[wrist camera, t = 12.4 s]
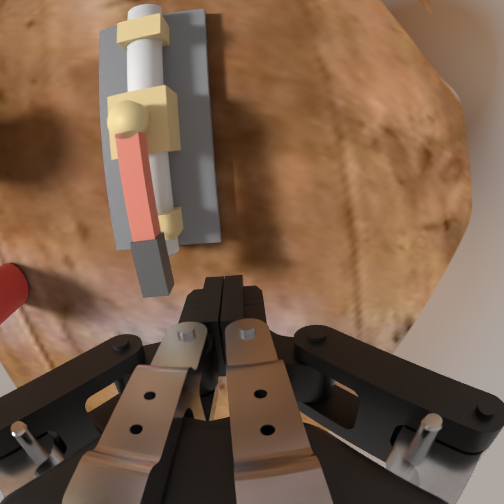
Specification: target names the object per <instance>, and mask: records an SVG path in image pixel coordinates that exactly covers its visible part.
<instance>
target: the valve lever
mask: <svg viewBox="0 0 504 504" xmlns="http://www.w3.org/2000/svg"><path fill="white" fill-rule="evenodd" d="M150 123H151V116H150V113H149V111H148V109H147V108H146V107H145V106H143V105H141V104H139V103H136V102H134V101H131V100H125V101H121V102H119V103H117V104H116V105H115V106H114V107H113V108H112V109H111V110H110V112H109V114H108V118H107V127H108V130H109V132H110V133H111V134H112V135H113V136H114V137H115V139H116V147H117V155H118V162H119V169H120V175H121V182H122V188H123V194H124V200H125V205H126V211H127V216H128V221H129V226H130V231H131V236H132V240H133V241H132V242H131V243H130V246H131V250H132V255H133V259H134V263H135V267H136V271H137V275H138V279H139V283H140V287H141V291H142V295H143V298H145V297H157V296H169V294H170V292H171V290H172V288H173V286H174V280H173V275H172V271H171V266H170V261H169V256H168V251H167V246H166V241H165V236H164V232H161V230H160V224H159V219H158V213H157V207H156V201H155V195H154V189H153V183H152V176H151V169H150V162H149V155H148V147H147V140H146V132H147V130H148V129H149V127H150Z"/></svg>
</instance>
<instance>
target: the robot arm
mask: <svg viewBox="0 0 504 504" xmlns="http://www.w3.org/2000/svg"><path fill="white" fill-rule="evenodd" d="M226 374H227V388H228V401H229V414H230V417H227V418H222V419H218V420H213V419H214V414H215V408H216V402H217V397H218V388H217V384H218V376H226ZM335 381H337V382H339V383H341V384H343V385H344V386H346V387H348V388H350V389H352V390H353V391H355V392H356V394H357V395H358V396H359V397H357V396H355V395H354V394H352V393H350V392H348V391H346V390H344V389H342V388H340V387H339V386H337V385H335V384H334V383H335ZM113 382H114V383H115V385H116V388H117V390H118V392H119V394H118V395H116V396H114V397H113V398H111V399H110V400H108V401H106V402H105V403H103V404H102V405H100V406H98V407H97V408H95V409H94V410H92V411H90V412H87V411H86V409H85V403H86V401H87V399H88V398H89V397H90V396H92V395H94V394H95V393H97V392H99V391H100V390H102V389H103V388H105V387H107V386H108V385H110V384H112V383H113ZM299 411H301V412H302V413H304V414H305V415H307V416H308V417H310V418H311V419H313V420H314V421H316V422H318V423H319V424H321V425H322V426H324V427H325V428H327V429H329V430H330V431H332V432H334V433H335V434H337V435H339V436H340V437H342V438H343V439H345V440H347V441H349V442H350V443H352V444H354V445H355V446H357V447H359V448H361V449H362V450H364V451H366V452H368V453H369V454H371V455H373V456H375V457H377V458H379V459H380V460H382V461H384V462H386V468H384V467H382V466H380V465H379V464H377V463H376V462H374V461H372V460H371V459H369V458H367V457H366V456H364V455H362V454H361V453H359V452H358V451H356V450H354V449H353V448H351V447H350V446H348V445H347V444H345V443H344V442H342V441H341V440H339V439H337V438H336V437H334V436H333V435H331V434H330V433H328V432H327V431H325V430H323V429H321V428H319V427H316V426H314V425H311V424H308V423H304V422H303V421H302V418H301V415H300V412H299ZM503 426H504V403H503V402H502V401H501V400H500V399H499V398H498V397H496V396H495V395H492V394H490V393H487V392H485V391H482V390H479V389H477V388H474V387H471V386H469V385H466V384H464V383H461V382H459V381H456V380H453V379H451V378H448V377H446V376H443V375H441V374H438V373H436V372H433V371H431V370H429V369H426V368H423V367H421V366H419V365H416V364H414V363H411V362H409V361H407V360H404V359H401V358H399V357H397V356H395V355H392V354H390V353H388V352H385V351H383V350H381V349H378V348H376V347H374V346H371V345H369V344H367V343H364V342H362V341H360V340H357V339H355V338H353V337H351V336H348V335H346V334H344V333H342V332H339V331H337V330H335V329H333V328H330V327H327V326H323V325H310V326H306V327H303V328H301V329H299V330H298V331H297V332H296V333H295V334H294V337H287V336H281V335H278V334H275V333H274V332H272V331H271V330H270V329H269V327H268V325H267V322H266V315H265V308H264V301H263V294H262V290H260V289H259V288H258V287H257V286H243V275H235V276H225V279H224V276H221V277H206V279H205V283H204V288H203V289H197V290H193V291H192V292H191V293H190V294H189V295H188V296H187V298H186V301H185V304H184V307H183V310H182V314H181V317H180V320H179V323H178V324H176V325H174V326H172V327H170V328H169V329H168V330H167V331H166V333H165V335H164V337H163V339H162V342H159V343H154V344H150V345H145V346H143V344H142V341H141V339H140V338H139V337H138V336H135V335H131V334H123V335H118V336H115V337H113V338H111V339H109V340H107V341H105V342H103V343H101V344H100V345H98V346H96V347H94V348H92V349H90V350H88V351H87V352H85V353H83V354H81V355H79V356H77V357H75V358H74V359H72V360H70V361H68V362H66V363H64V364H62V365H61V366H59V367H57V368H55V369H53V370H51V371H49V372H47V373H46V374H44V375H42V376H40V377H38V378H36V379H34V380H32V381H31V382H29V383H27V384H25V385H23V386H21V387H19V388H17V389H16V390H14V391H12V392H10V393H8V394H6V395H4V396H2V397H1V398H0V489H1V492H2V494H3V496H4V499H3V500H2V501H1V503H0V504H456V503H457V501H458V499H459V498H460V496H461V494H462V492H463V490H464V489H465V487H466V485H467V483H468V481H469V479H470V477H471V475H472V473H473V471H474V469H475V467H476V464H477V462H478V461H479V460H480V458H481V457H482V456H483V455H484V453H485V452H486V451H487V449H488V448H489V446H490V445H491V443H492V442H493V441H494V439H495V438H496V437H497V435H498V434H499V432H500V431H501V429H502V427H503Z"/></svg>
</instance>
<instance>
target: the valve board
mask: <svg viewBox="0 0 504 504" xmlns="http://www.w3.org/2000/svg"><path fill="white" fill-rule="evenodd" d="M99 100H100V122H101V137H102V149H103V160H104V169H105V178H106V186H107V193H108V201H109V207H110V214H111V220H112V226H113V232H114V238H115V243H116V248H117V250H127V249H131V246H130V243H131V242H132V241H133V240H132V236H131V231H130V226H129V221H128V216H127V211H126V205H125V200H124V194H123V188H122V182H121V175H120V169H119V162H118V155H117V147H116V139H115V137H114V136H113V135H112V134H111V133H110V132H109V130H108V127H107V118H108V114H109V112H110V110H111V109H112V108H113V107H114V106H115V105H116V104H117V103H119V102H121V101H125V100H131V101H134V102H136V103H139V104H141V105H143V106H145V107H146V108H147V109H148V111H149V113H150V116H151V123H150V127H149V129H148V130H147V132H146V140H147V147H148V155H149V162H150V169H151V176H152V183H153V189H154V195H155V201H156V207H157V213H158V219H159V224H160V230H161V232H164V236H165V241H166V246H167V251H168V256H169V255H172V254H175V253H176V252H178V251H179V245H189V244H202V243H216V242H221V239H222V237H221V226H220V216H219V205H218V193H217V182H216V170H215V157H214V144H213V131H212V117H211V102H210V86H209V69H208V51H207V30H206V13H205V9H204V8H203V9H195V10H188V11H182V12H176V13H170V14H165V15H162V8H161V7H160V6H158V5H154V4H143V5H139V6H136V7H133V8H132V9H130V10H129V12H128V20H127V21H123V22H120V23H117V26H114V27H111V28H107V29H104V30H101V31H100V44H99Z"/></svg>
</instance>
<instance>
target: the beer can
mask: <svg viewBox="0 0 504 504" xmlns="http://www.w3.org/2000/svg"><path fill="white" fill-rule="evenodd" d="M28 293H29V289H28V283H27V281H26V278H25V276H24V274H23V273H22V272H21V270H20V269H19V268H18V267H16V266H15V265H13V264H9V263H7V264H3V265H2V266H0V324H1V323H2V322H4V321H5V320H6V319H7V318H8V317H9V316H10V315H11V314H12V313H13V312H15V311H16V310H17V309H18V308H19V307H20V306H21V305H23V304H24V303H25V302H26V300H27V298H28Z"/></svg>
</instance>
